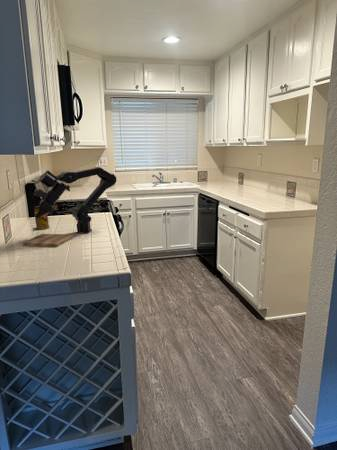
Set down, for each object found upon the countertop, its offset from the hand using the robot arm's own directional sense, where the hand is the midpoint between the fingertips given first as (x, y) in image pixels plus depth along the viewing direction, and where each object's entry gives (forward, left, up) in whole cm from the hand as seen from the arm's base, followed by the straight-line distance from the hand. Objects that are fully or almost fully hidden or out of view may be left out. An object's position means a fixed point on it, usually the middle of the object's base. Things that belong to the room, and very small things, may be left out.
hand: (36, 216), depth 159 cm
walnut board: (-8, +4, -12) cm, 15 cm away
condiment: (-1, -1, -7) cm, 7 cm away
